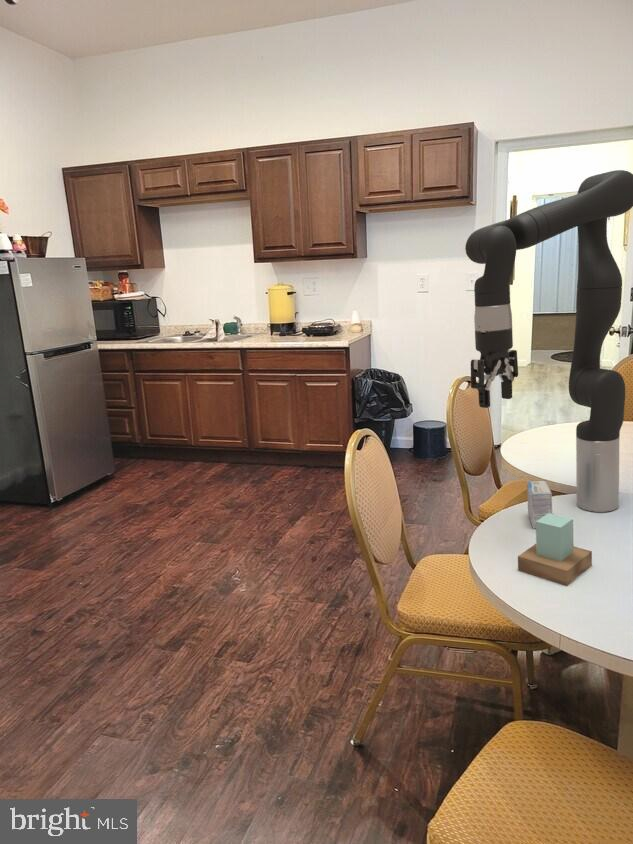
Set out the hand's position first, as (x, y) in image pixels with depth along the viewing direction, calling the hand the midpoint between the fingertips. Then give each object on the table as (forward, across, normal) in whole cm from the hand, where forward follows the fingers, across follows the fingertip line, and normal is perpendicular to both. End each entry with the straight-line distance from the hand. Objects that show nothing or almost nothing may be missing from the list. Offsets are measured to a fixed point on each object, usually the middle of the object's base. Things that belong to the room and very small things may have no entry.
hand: (496, 402), depth 130 cm
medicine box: (+30, -10, +4) cm, 32 cm away
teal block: (+27, +8, +17) cm, 33 cm away
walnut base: (+30, +8, +17) cm, 35 cm away
